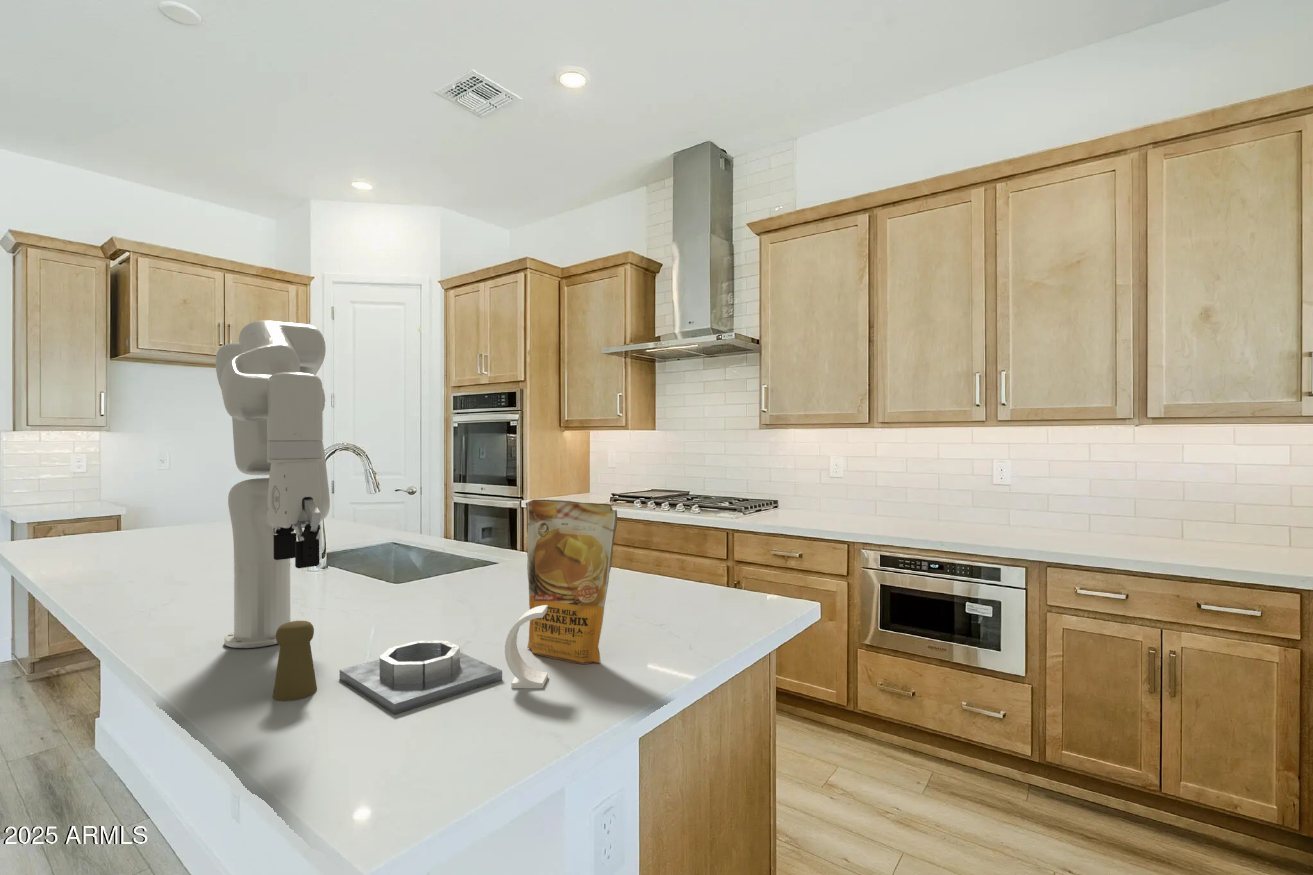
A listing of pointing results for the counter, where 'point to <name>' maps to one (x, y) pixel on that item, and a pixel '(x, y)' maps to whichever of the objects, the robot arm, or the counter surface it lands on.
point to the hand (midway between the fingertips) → (295, 562)
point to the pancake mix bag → (568, 576)
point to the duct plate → (418, 691)
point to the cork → (294, 662)
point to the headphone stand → (518, 667)
